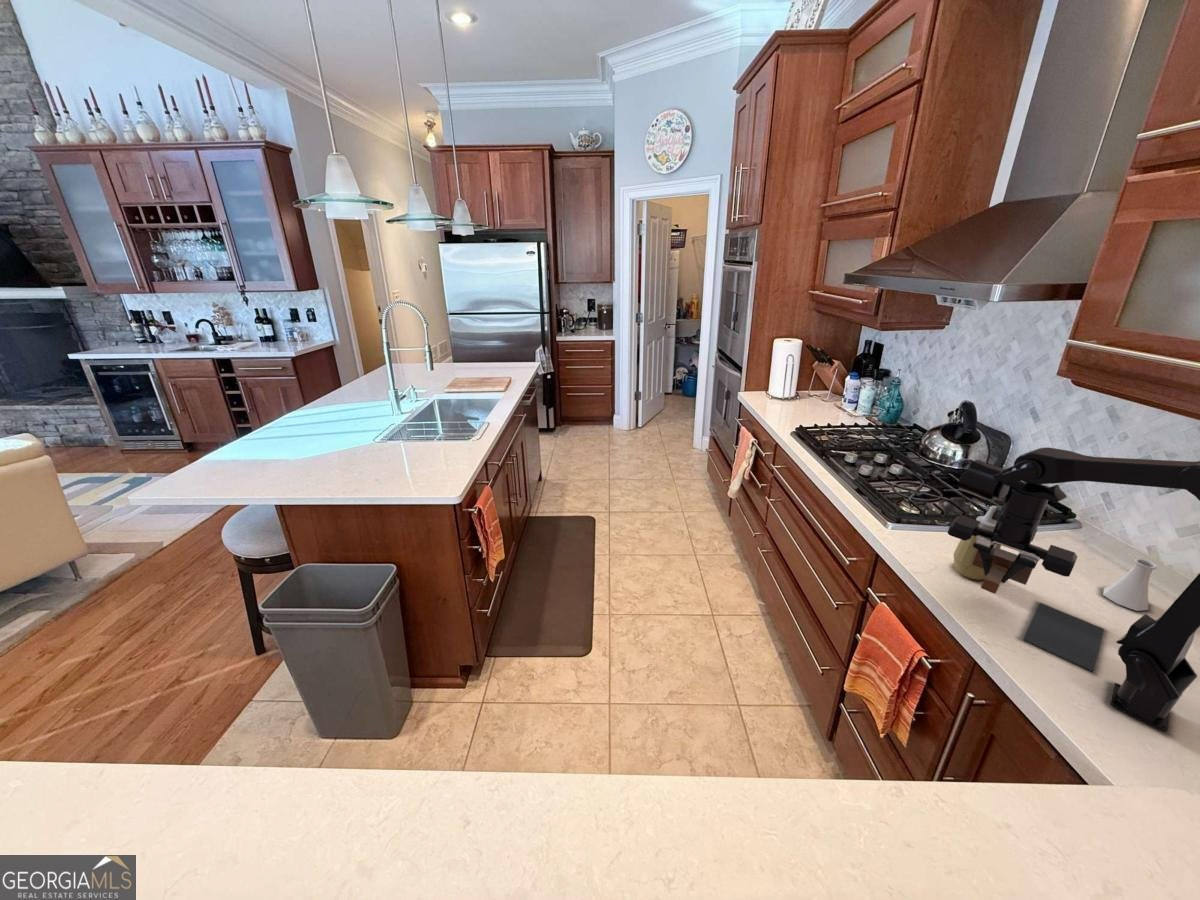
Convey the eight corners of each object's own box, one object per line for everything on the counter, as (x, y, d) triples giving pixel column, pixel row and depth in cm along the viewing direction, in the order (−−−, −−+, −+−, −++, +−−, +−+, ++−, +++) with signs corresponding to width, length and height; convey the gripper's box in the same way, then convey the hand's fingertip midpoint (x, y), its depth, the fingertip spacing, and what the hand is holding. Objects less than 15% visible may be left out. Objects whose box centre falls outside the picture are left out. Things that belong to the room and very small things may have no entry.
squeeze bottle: (955, 557, 117) (979, 494, 110) (995, 574, 111) (1023, 508, 104) (943, 570, 112) (967, 505, 105) (984, 588, 107) (1012, 520, 99)
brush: (1016, 602, 90) (1023, 586, 88) (960, 580, 96) (966, 564, 95) (1030, 575, 97) (1037, 559, 96) (977, 556, 104) (983, 540, 102)
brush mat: (1092, 672, 86) (1093, 671, 86) (1022, 640, 93) (1023, 638, 93) (1103, 630, 95) (1103, 628, 95) (1039, 603, 102) (1039, 602, 102)
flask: (1110, 585, 108) (1130, 549, 104) (1155, 605, 102) (1178, 568, 98) (1095, 594, 105) (1115, 557, 101) (1140, 615, 99) (1163, 577, 95)
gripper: (1095, 516, 87) (1063, 584, 93) (973, 482, 100) (952, 544, 106) (1087, 538, 80) (1053, 610, 87) (958, 498, 94) (936, 563, 100)
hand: (994, 578), depth 95 cm, fingers closed on brush, 2 cm apart
